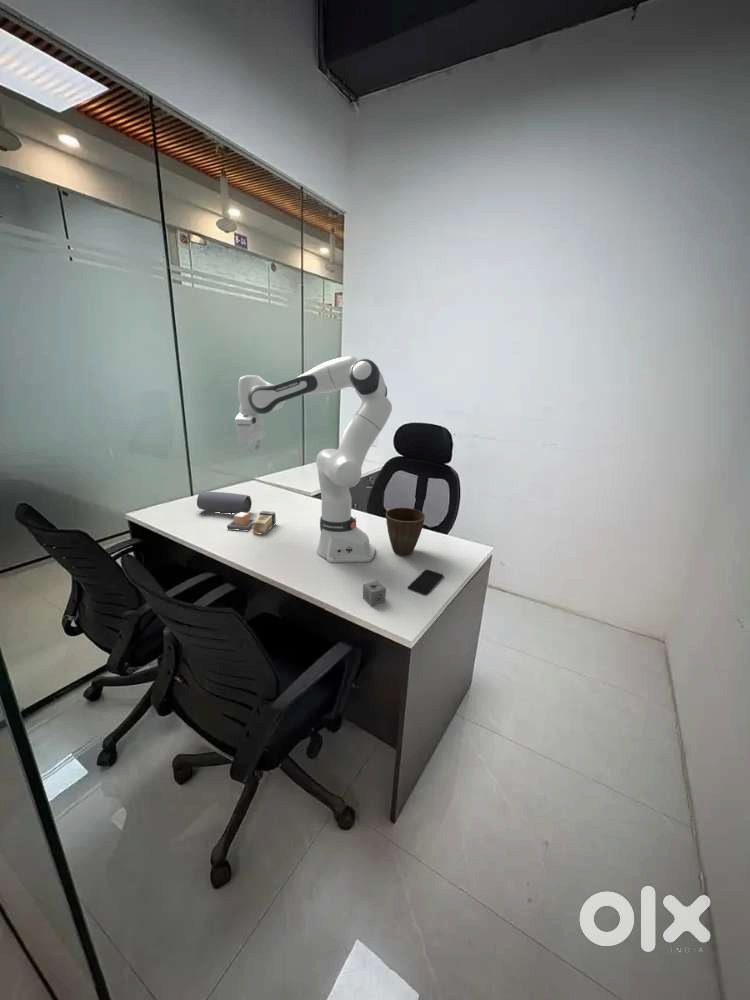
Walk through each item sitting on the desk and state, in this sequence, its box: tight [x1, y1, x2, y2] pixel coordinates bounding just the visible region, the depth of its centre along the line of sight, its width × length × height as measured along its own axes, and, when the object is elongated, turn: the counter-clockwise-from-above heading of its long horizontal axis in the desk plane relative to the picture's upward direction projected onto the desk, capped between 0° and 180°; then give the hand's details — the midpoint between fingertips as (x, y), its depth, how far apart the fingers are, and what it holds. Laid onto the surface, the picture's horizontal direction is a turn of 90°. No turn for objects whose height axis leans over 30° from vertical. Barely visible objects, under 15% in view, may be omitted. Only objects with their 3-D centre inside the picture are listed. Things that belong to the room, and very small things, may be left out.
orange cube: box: [233, 512, 250, 526], centre depth 158 cm, size 5×4×5 cm
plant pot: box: [385, 507, 426, 557], centre depth 142 cm, size 15×15×16 cm
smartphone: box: [407, 569, 445, 597], centre depth 124 cm, size 7×1×15 cm
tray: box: [226, 518, 256, 531], centre depth 159 cm, size 9×9×2 cm
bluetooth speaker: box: [196, 491, 252, 514], centre depth 172 cm, size 23×9×10 cm, turn 84°
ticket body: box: [252, 510, 277, 535], centre depth 157 cm, size 6×12×6 cm, turn 176°
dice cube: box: [362, 580, 387, 607], centre depth 112 cm, size 5×5×5 cm
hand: (253, 451), depth 150 cm, fingers open, 8 cm apart
